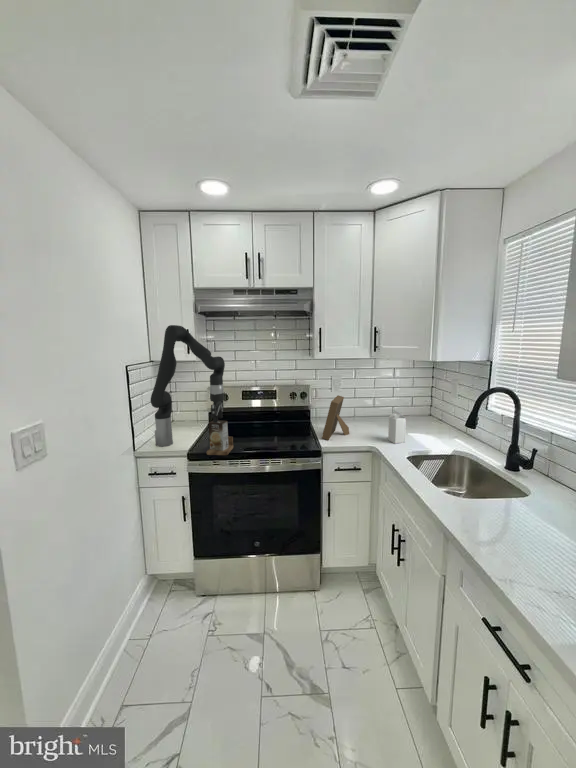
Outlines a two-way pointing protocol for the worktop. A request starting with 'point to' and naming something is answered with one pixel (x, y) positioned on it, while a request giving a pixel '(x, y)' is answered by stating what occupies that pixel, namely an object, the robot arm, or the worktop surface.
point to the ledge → (225, 452)
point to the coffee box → (218, 435)
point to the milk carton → (397, 427)
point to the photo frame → (334, 419)
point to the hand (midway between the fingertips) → (218, 420)
